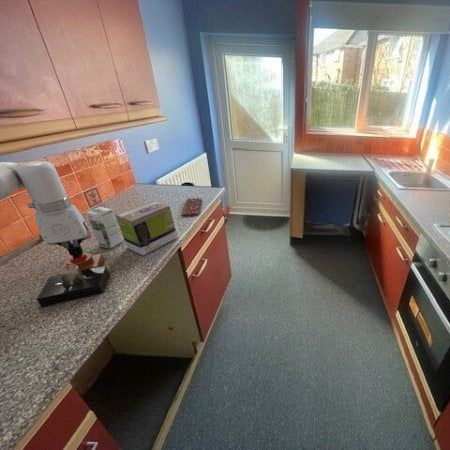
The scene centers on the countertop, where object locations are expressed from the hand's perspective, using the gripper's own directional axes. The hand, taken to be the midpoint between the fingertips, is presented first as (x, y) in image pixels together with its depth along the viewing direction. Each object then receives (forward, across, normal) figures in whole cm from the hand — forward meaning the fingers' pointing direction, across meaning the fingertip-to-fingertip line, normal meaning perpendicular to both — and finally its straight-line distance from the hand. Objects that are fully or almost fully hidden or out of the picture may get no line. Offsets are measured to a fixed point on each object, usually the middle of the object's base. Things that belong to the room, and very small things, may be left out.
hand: (78, 255), depth 81 cm
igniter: (+5, 0, 0) cm, 5 cm away
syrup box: (+5, +6, +14) cm, 16 cm away
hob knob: (+2, +1, -11) cm, 11 cm away
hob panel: (+5, +1, -11) cm, 12 cm away
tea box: (+6, +20, +8) cm, 23 cm away
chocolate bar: (+6, +37, +38) cm, 54 cm away
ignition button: (+2, 0, 0) cm, 2 cm away
